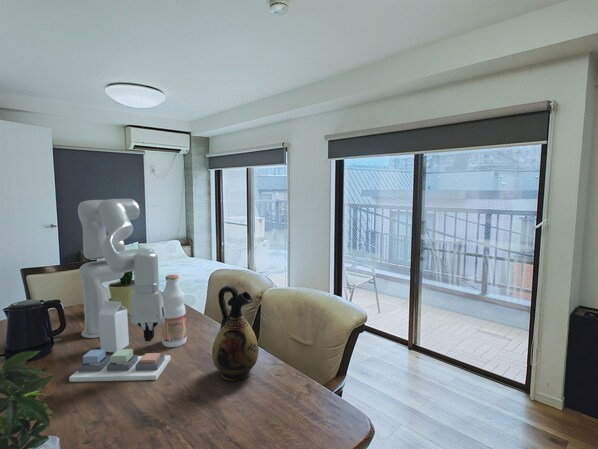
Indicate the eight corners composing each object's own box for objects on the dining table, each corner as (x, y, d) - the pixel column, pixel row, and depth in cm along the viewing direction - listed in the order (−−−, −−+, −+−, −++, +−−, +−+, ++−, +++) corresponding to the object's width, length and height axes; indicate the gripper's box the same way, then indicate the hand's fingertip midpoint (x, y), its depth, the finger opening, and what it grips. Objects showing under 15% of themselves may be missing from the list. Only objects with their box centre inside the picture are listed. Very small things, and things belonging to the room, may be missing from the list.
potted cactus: (114, 307, 185) (111, 252, 182) (145, 305, 188) (142, 250, 186) (105, 317, 170) (102, 257, 167) (139, 315, 174) (136, 256, 171)
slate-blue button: (91, 356, 122) (90, 349, 122) (105, 356, 122) (105, 349, 122) (83, 363, 117) (82, 356, 117) (98, 363, 117) (97, 356, 117)
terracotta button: (146, 360, 123) (145, 353, 123) (160, 359, 123) (160, 353, 123) (140, 367, 118) (139, 360, 118) (155, 366, 118) (154, 359, 118)
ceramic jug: (266, 366, 122) (265, 283, 119) (245, 390, 108) (244, 296, 105) (224, 359, 128) (222, 279, 125) (199, 380, 113) (196, 291, 110)
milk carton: (116, 353, 133) (113, 305, 131) (100, 351, 134) (97, 303, 132) (129, 345, 140) (126, 299, 138) (113, 343, 141) (111, 298, 139)
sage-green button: (118, 356, 122) (118, 349, 122) (133, 355, 123) (132, 348, 122) (111, 363, 117) (111, 355, 117) (126, 362, 118) (126, 355, 117)
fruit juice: (157, 345, 139) (154, 277, 137) (174, 336, 148) (171, 272, 145) (174, 349, 135) (171, 279, 133) (191, 340, 144) (189, 274, 141)
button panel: (93, 360, 127) (92, 351, 127) (170, 359, 128) (170, 350, 128) (69, 381, 113) (68, 371, 113) (156, 379, 114) (155, 369, 114)
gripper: (119, 291, 114) (122, 345, 116) (165, 291, 114) (167, 344, 116) (129, 285, 121) (132, 335, 123) (172, 285, 122) (174, 335, 124)
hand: (149, 339), depth 120 cm, fingers closed
